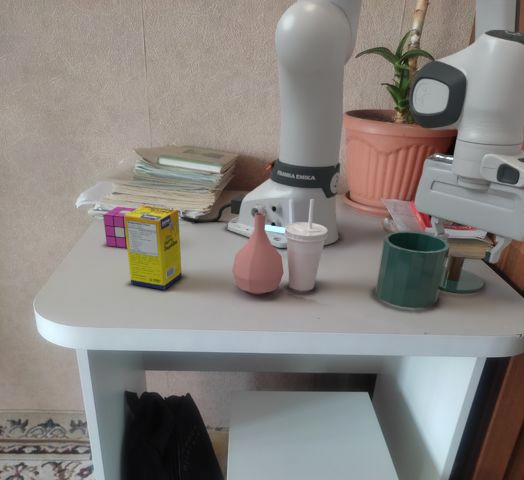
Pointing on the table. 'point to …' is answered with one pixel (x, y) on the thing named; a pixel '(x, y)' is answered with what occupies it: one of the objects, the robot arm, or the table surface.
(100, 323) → the table surface
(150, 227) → the supplement box
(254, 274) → the pink vase
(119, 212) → the puzzle toy
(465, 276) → the lid
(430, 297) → the crock
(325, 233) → the smoothie
